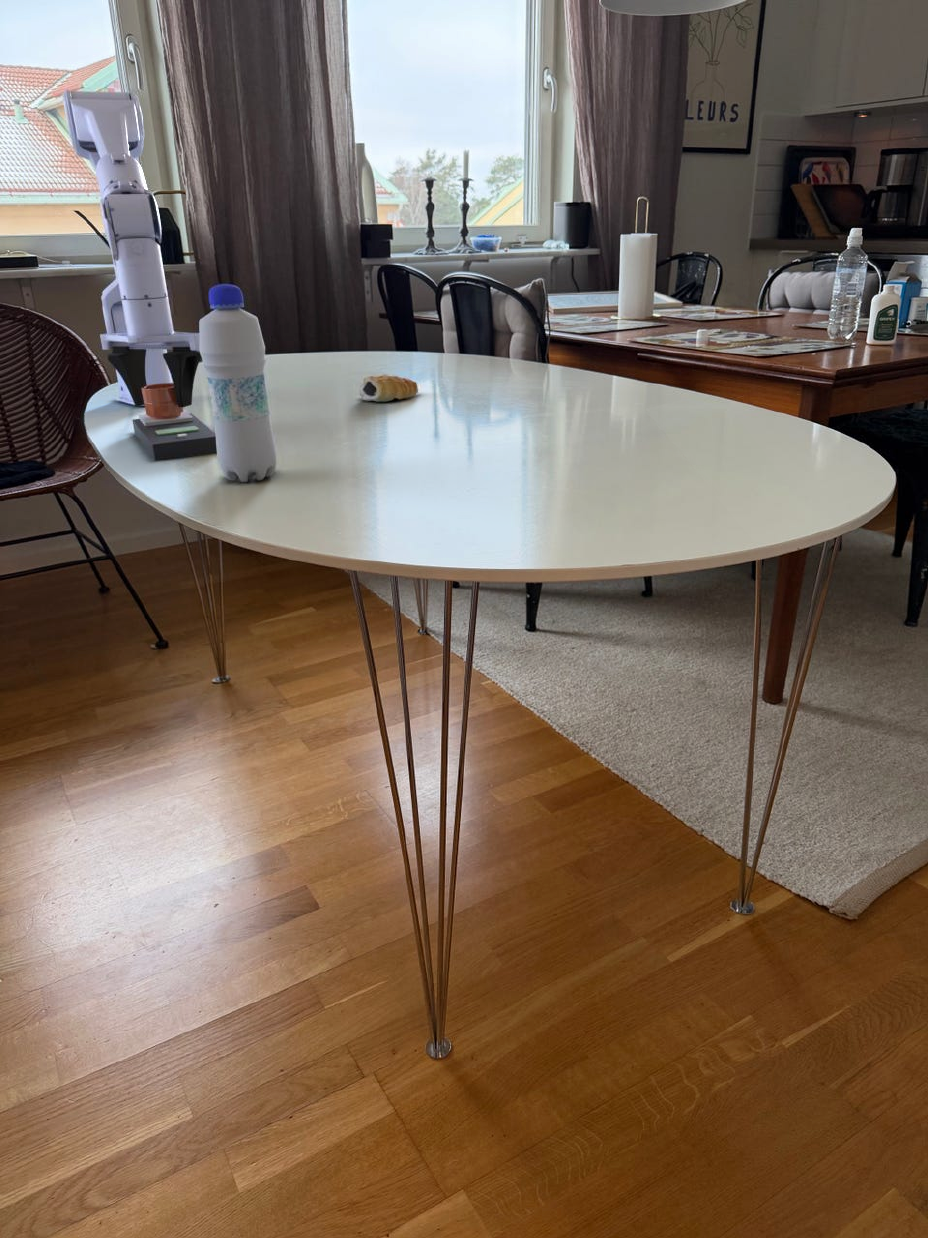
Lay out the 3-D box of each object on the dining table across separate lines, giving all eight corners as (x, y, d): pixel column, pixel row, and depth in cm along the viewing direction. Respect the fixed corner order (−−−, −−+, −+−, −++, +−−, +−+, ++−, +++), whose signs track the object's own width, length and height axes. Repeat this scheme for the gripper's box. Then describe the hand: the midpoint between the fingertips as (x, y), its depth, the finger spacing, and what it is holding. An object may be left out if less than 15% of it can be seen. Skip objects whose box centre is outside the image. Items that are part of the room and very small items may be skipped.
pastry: (402, 391, 142) (400, 367, 141) (428, 396, 138) (427, 372, 136) (356, 399, 137) (354, 375, 135) (382, 405, 132) (380, 379, 130)
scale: (134, 433, 118) (131, 415, 117) (193, 426, 121) (190, 408, 120) (155, 460, 103) (151, 440, 102) (221, 451, 106) (218, 431, 105)
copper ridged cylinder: (141, 416, 116) (135, 386, 114) (174, 411, 119) (169, 381, 117) (156, 421, 113) (150, 390, 111) (190, 415, 116) (185, 385, 114)
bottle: (228, 469, 98) (201, 282, 90) (286, 468, 98) (264, 280, 90) (211, 485, 92) (180, 286, 84) (272, 484, 92) (247, 284, 83)
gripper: (76, 300, 108) (98, 409, 114) (175, 299, 104) (193, 412, 110) (112, 296, 114) (132, 399, 120) (207, 295, 110) (222, 402, 116)
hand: (163, 405), depth 115 cm, fingers open, 6 cm apart
